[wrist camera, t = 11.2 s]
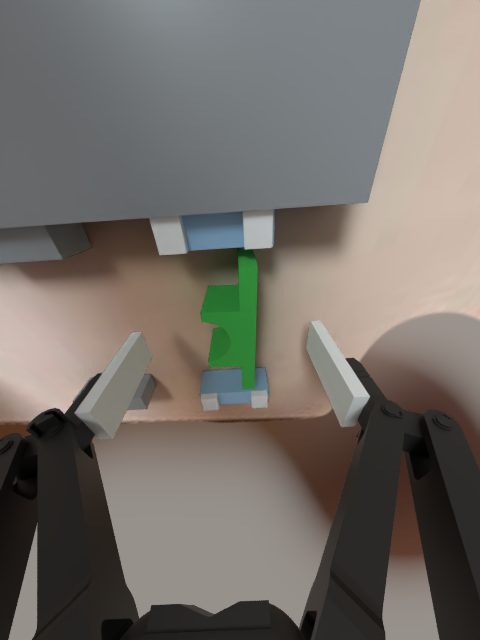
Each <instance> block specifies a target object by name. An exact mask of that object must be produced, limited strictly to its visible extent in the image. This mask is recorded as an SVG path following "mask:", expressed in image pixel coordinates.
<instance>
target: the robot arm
mask: <svg viewBox="0 0 480 640" xmlns="http://www.w3.org/2000/svg"><path fill="white" fill-rule="evenodd" d="M306 349H307V352H308V354H309V356H310V358H311V360H312V363H313V365H314V367H315V369H316V372H317V374H318V376H319V378H320V381H321V383H322V385H323V387H324V389H325V392H326V394H327V396H328V398H329V401H330V403H331V405H332V407H333V410H334V412H335V414H336V416H337V418H338V421H339V423H340V425H341V427H349V426H355V425H356V423H357V421H358V422H359V424H360V425H361V427H362V428H361V430H360V431H359V433H358V435H357V437H358V439H357V442H356V446H355V449H354V452H353V456H352V459H351V462H350V466H349V469H348V472H347V476H346V479H345V482H344V486H343V489H342V493H341V496H340V499H339V503H338V506H337V509H336V513H335V516H334V519H333V523H332V526H331V529H330V533H329V536H328V539H327V543H326V546H325V550H324V553H323V556H322V560H321V563H320V566H319V569H318V573H317V576H316V578H315V581H314V583H313V586H312V588H311V591H310V594H309V597H308V600H307V603H306V607H305V610H304V613H303V616H302V620H301V623H300V627H299V628H298V627H297V625H296V624H295V623H294V622H293V621H292V619H291V618H290V617H289V616H288V615H287V614H286V613H284V612H283V611H282V610H281V609H279V608H277V607H276V606H274V605H272V604H270V603H269V601H268V600H265V601H264V600H263V601H240V602H238V603H236V604H234V605H232V606H230V607H228V608H226V609H224V610H222V611H220V612H219V613H217V614H212V613H210V612H208V611H205V610H203V609H201V608H199V607H197V606H195V605H184V604H170V605H152V606H151V610H150V611H149V612H147V613H146V614H145V615H143V616H142V617H141V618H139V616H138V612H137V608H136V605H135V602H134V598H133V596H132V594H131V592H130V591H129V589H128V587H127V585H126V583H125V579H124V575H123V571H122V566H121V562H120V557H119V553H118V549H117V544H116V540H115V536H114V532H113V527H112V523H111V519H110V514H109V510H108V505H107V501H106V496H105V492H104V488H103V483H102V479H101V475H100V470H99V466H98V462H97V458H96V453H95V449H94V445H93V443H92V439H93V437H94V435H95V436H96V437H97V438H98V439H99V440H110V439H113V437H114V436H115V434H116V432H117V429H118V427H119V425H120V423H121V421H122V419H123V417H124V415H125V413H126V411H127V409H128V407H129V405H130V403H131V401H132V399H133V397H134V394H135V392H136V390H137V388H138V386H139V384H140V382H141V380H142V378H143V376H144V374H145V372H146V370H147V368H148V366H149V364H150V362H151V360H152V355H151V352H150V350H149V348H148V345H147V343H146V341H145V338H144V336H143V333H142V332H132V333H131V334H130V336H129V337H128V339H127V340H126V341H125V343H124V344H123V346H122V347H121V348H120V350H119V351H118V353H117V354H116V355H115V357H114V358H113V360H112V361H111V362H110V364H109V365H108V367H107V368H106V369H105V371H104V372H103V373H99V374H97V375H96V376H95V377H93V378H92V379H91V380H90V381H89V382H88V384H87V385H86V386H85V389H83V390H82V392H81V394H80V395H79V396H78V397H77V398H76V400H75V401H74V402H73V404H72V405H71V406H70V408H69V409H68V410H67V412H66V413H65V414H64V413H63V412H62V411H61V410H60V409H57V408H54V409H49V410H47V411H44V412H43V413H41V414H39V415H38V416H37V417H35V418H34V419H33V420H32V421H31V423H30V424H29V425H28V427H27V431H28V432H29V433H31V434H32V435H30V436H26V437H23V436H22V435H21V434H19V433H13V434H9V435H7V436H5V437H3V438H1V439H0V640H8V638H9V634H10V630H11V626H12V622H13V618H14V614H15V610H16V606H17V602H18V598H19V594H20V590H21V586H22V582H23V578H24V574H25V570H26V566H27V562H28V558H29V554H30V550H31V545H32V542H33V538H34V533H35V529H36V526H37V522H38V528H37V532H38V536H37V537H38V538H37V541H38V542H37V547H38V548H37V549H38V550H37V553H38V554H37V562H38V563H37V570H38V571H37V579H38V580H37V584H38V585H37V586H38V587H37V630H36V633H35V636H34V637H33V639H32V640H385V631H384V626H383V621H382V610H383V602H384V594H385V585H386V577H387V569H388V561H389V553H390V545H391V537H392V529H393V521H394V513H395V505H396V496H397V489H398V481H399V473H400V465H401V456H402V451H404V453H405V458H406V464H407V469H408V474H409V480H410V485H411V491H412V496H413V501H414V506H415V512H416V516H417V522H418V528H419V533H420V538H421V544H422V549H423V554H424V559H425V565H426V570H427V575H428V581H429V585H430V591H431V597H432V602H433V607H434V612H435V618H436V623H437V628H438V634H439V639H440V640H480V470H479V467H478V465H477V463H476V460H475V458H474V456H473V453H472V451H471V449H470V447H469V444H468V442H467V440H466V438H465V435H464V433H463V431H462V428H461V427H460V425H459V424H458V423H457V422H456V421H455V420H454V419H453V418H452V417H450V416H449V415H447V414H446V413H443V412H441V411H438V410H427V411H426V412H425V413H424V414H419V413H415V412H410V411H406V410H403V409H402V408H401V407H400V406H399V405H397V404H396V403H394V402H392V401H389V400H387V399H386V398H385V396H384V395H383V393H382V392H381V390H380V389H379V388H378V386H377V385H376V384H375V382H374V381H373V379H372V378H371V377H370V375H369V374H368V373H367V372H366V370H365V368H364V367H363V366H362V364H361V363H360V362H358V361H357V360H356V359H354V358H345V357H344V356H343V354H342V353H341V351H340V350H339V348H338V347H337V345H336V344H335V342H334V341H333V339H332V338H331V336H330V334H329V333H328V331H327V330H326V328H325V327H324V325H323V324H322V322H321V321H310V327H309V333H308V339H307V344H306Z"/></svg>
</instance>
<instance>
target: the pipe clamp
mask: <svg viewBox="0 0 480 640" xmlns="http://www.w3.org/2000/svg"><path fill="white" fill-rule="evenodd" d="M238 275H239V285H225V286H208V288H207V292H206V295H205V299H204V302H203V306H202V310H201V319H202V322H208V323H212V324H215V325H218V326H220V327H219V328H214V329H213V334H212V340H211V347H210V353H209V360H208V362H209V368H210V367H240V366H241V372H242V390H246V389H255V354H256V316H257V278H258V266H257V263H256V259H255V256H254V252H253V249H246V250H245V249H238Z"/></svg>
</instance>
